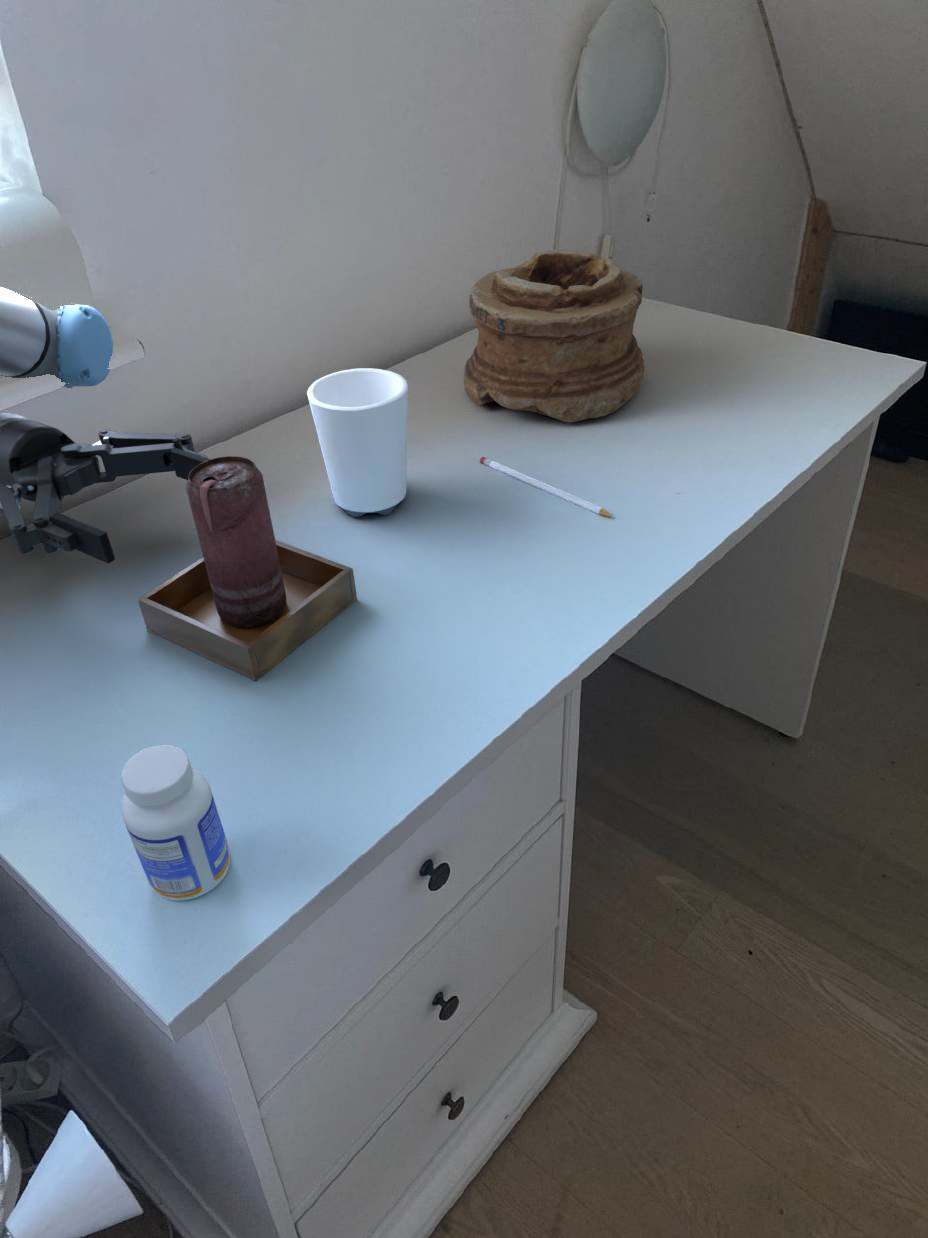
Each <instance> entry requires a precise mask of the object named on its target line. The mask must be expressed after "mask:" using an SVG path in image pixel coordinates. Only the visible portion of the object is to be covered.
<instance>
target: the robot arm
mask: <svg viewBox="0 0 928 1238" xmlns="http://www.w3.org/2000/svg"><path fill="white" fill-rule="evenodd" d="M18 293H19V292H16V293H15V291H13V290H10V289H8V288H5V287H2V286H0V375H1V376H5V377H12V378H26V377H27V378H29V377H36V376H42V375H46V374H50V375H55V376H56V377H57V378H59V379H61V382H65V383H66V384H65V385H64V386H62V387H64V388H67V389H72V388H73V387H74V388H75V387H95V386H97V385H99V384H102V382H104V381H105V379H107V377H108V375H109V373H110V372H111V369H107V368H109V367H108V366H109V361H110V359H111V358H110V357H111V356H112V353H113V354H114V342H113V336H112V332H111V328H110V326H109V324H108V322H107V320H106V319H105V317H104V316H103V314H102V313H100V311H99V310H98V309H96V308H95V307H92V306H90V305H87V304H77V303H74V304H75V305H64V306H60V308H59V309H57V310H55V311H54V310H53V311H52V310H49V309H47V308H46V307H44V306H42V305H41V304H39V303H35V302H34V301H32V300H30V299H28V298H26V297H24V296H22V295H23V294H22V295H20V294H21V293H19V294H18ZM68 383H69V384H68ZM11 413H12V412H11ZM11 413H1V414H0V514H1V515H2V516H4V517H5V518H6V521H7V524H8V526H9V529H10V532H11V534H12V536H13V539H14V542H15V544H16V547H17V549H18V552H19V554H22V555H25V554H29V553H32V552H33V551H34V550H35V546H36V545H41V546H42V549H43V552H44V553H45V554H53V553H55V552H57V551H58V550H59V549H60V550H62V551H64V552H73V551H75V550H76V551H78V552H80V553H82V554H85V555H87V556H89V557H92V558H94V559H97V560H98V561H101V562H102V563H103V562H104V563H105V564H111V563H112V562H114V561H115V560H116V556H115V553H114V550H113V547H112V544H111V540H110V538H109V535H108V532H107V531H105V530H102V529H100V528H97V527H94V526H92V525H89V524H87V523H85V522H82V521H80V520H77V519H74V518H73V517H70V516H68V515H65V514H62V513H60V510H62V509H63V501H64V499H65V497H67V496H71V497H72V496H74V495H75V494H77V493H79V492H81V491H82V490H83V489H85V488H87V487H89V486H93V485H94V484H101V483H111V482H114V481H116V479H117V478H118V477H127V476H136V475H137V476H138V475H147V474H157V473H168V472H169V473H170V472H174V473H175V476H176V477H177V478H180V479H183V480H186V481H188V476H189V473H190V471H191V470H192V469H193V468H194V467H196V466H197V465H199V464H200V463H203V462H205V461H207V460H210V459H211V458H209V457H208V456H207V455H206V454H202V453H199V452H196V451H195V446H194V441H193V439H192V438H193V437H192V435H191V434H190V433H163V432H162V433H160V432H157V433H156V432H154V433H153V432H120V431H119V432H118V431H116V430H111V429H102V430H100V431H98V432H97V433H98V434H97V435H98V438H99V440H98V441H96V442H94V443H93V444H90V443H77V442H75V441H74V440H73V439H72V438H71V437H70V436H69V435H67V434H66V433H65V432H63V431H62V430H61V429H58V428H57V427H54V426H51V425H49V424H45V423H42V422H40V421H36V420H33V419H30V418H28V417H26V416H23V415H20V414H17V413H14V414H11ZM99 458H101V461H102V465H103V467H104V471H101V468H100V461H99ZM22 499H24V500H26V501H29V502H33V503H35V504H34V510H33V515H32V516H33V517H32V522H31V523H29V524H27V525H26V523H25V521H24V518H23V516H22V513H21V511H20V509H22V507H21V505H20V503H21V502H22Z"/></svg>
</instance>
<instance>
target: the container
mask: <svg viewBox="0 0 928 1238" xmlns="http://www.w3.org/2000/svg"><path fill="white" fill-rule="evenodd" d="M643 286H644V284H643V281H642V280H641V278H638V277H637V275H636V274H635V273H632V272H631V271H629V270H626V269H622V268H621V267H620V265H619V264H618V263H617V262H615V260H613V259H611V258H609V257H606V258H604V259H602V258H601V257H600V256H599V255H598V254H596V253H593V252H589V251H584V250H578V249H549V250H542V251H536V252H535V253H534V254H533V256H532V257H531V259H530V260H527V261H526V260H525V261H524V262H522V263H520V264H518V265H517V266H514V267H508V268H503V269H499V270H496V271H495V270H493V271H491V272H489V273H487V274H485V275H482V276H481V277H480V278H479V279H477V281H476V282H475V283H474V285H472V287H471V290H470V293H469V301H468V306H469V314H470V315H471V317H472V319H474V321H475V325H476V328H477V331H478V335H477V342H476V343H477V344H476V346H474V347H475V348H474V350H473V351H472V354H471V355H470V357H469V358H468V359H467V360H466V361H465V365H464V369H463V370H464V371H463V386H464V387H463V388H464V391H465V393H466V394H467V396H468V397H469V398H470V399H471V400H472V401H473V402H474V403H475V404H477V405H479V406H482V405H486V404H487V403H491V402H496V403H497V404H499V405H500V406H501V407H503V408H505V409H508V410H511V411H512V410H513V411H526V412H527V411H528V412H532V413H537V414H540V415H541V416H546V417H549V418H551V419H552V418H553V419H556V420H559V421H562V422H565V423H576V422H580V421H585V420H589V419H597V418H599V417H605V416H607V415H609V414H612V413H615V412H616V411H617V410H618V409H621V407H622V406H623V405H625V404H626V403H628V401H630V399H632V398H633V397H634V396H635V394H636V392H637V391H638V389H639V387H640V385H641V381H642V379H643V377H644V374H645V360H644V358H643V351H642V348H640V347H639V344H638V341H637V338H636V337H635V335H634V334H633V332H634V325H635V322H636V318H637V312H638V310H639V309H640V305H641V304H642V301H643Z"/></svg>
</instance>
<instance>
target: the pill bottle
mask: <svg viewBox="0 0 928 1238" xmlns="http://www.w3.org/2000/svg"><path fill="white" fill-rule="evenodd" d="M120 775H121V783H122V787H123V791H124V794H123V797H122V800H121V816H122V819H123V822H124V825H125V827H126V830H127V832H128V835H129V838H130V840H131V843H132V845H133V847H134V850H135V852H136V855H137V857H138V859H139V863H140V865H141V867H142V869H143V873H144V875H145V877H146V879H147V882H148V883H149V885H150V887H151V888H152V890H153V891H154V892H155V893H156V894H157V895H158V896H160V897H162V898H164V899H167V900H170V901H177V902H178V901H188V900H193V899H196V898H199V897H201V896H204V895H205V894H208V893H209V892H210V891H212V890H213V889H215V888H216V887H217V886H218V885H219V884H221V882H222V881H223V880H224V878H225V877H226V875H227V873H228V871H229V868H230V865H231V852H230V847H229V844H228V840H227V837H226V833H225V830H224V828H223V827H224V826H223V824H222V821H221V818H220V817H221V816H220V813H219V811H218V808H217V805H216V801H215V798H214V795H213V791H212V788H211V786H210V783H209V781H208V779H207V778H206V777H205V775H204V774H202V772H201V771H199V770H198V769H196V768H194V767H192V764H191V762H190V758H189V756H188V754H187V753H186V752H185V751H184V750H183V749H181V748H179V747H178V746H175V745H171V744H156V745H152V746H149V747H145V748H144V749H141V750H140V751H138V752H135V754H133V755H132V756H131V757H130V758H129V759H128V760H127V761H126V762H125V764H124V765H123V767H122V770H121V774H120Z"/></svg>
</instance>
